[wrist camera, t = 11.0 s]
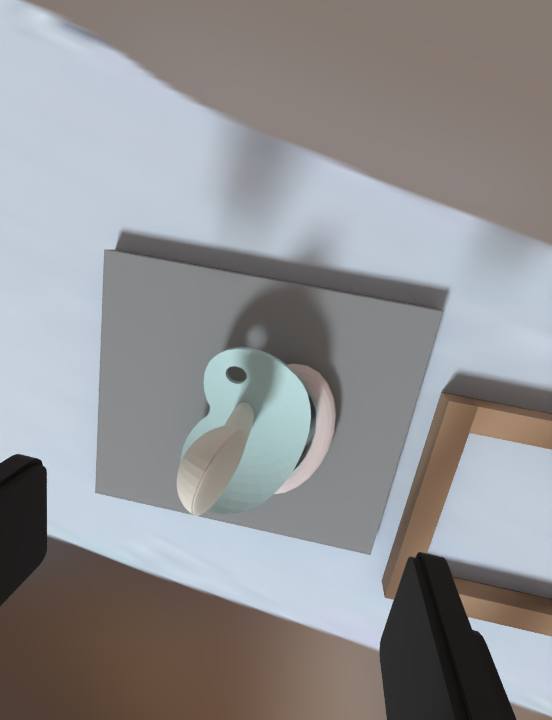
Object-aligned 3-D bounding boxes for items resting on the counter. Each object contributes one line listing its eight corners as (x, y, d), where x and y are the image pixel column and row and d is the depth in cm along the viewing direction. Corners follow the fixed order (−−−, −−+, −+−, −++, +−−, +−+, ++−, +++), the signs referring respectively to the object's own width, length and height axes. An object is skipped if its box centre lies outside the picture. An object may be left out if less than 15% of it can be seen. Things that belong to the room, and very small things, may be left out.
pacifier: (358, 369, 16) (224, 323, 16) (387, 440, 10) (174, 367, 10) (300, 505, 18) (182, 466, 18) (297, 631, 12) (120, 572, 12)
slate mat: (436, 308, 16) (442, 311, 15) (368, 542, 19) (370, 554, 18) (114, 249, 17) (104, 249, 16) (103, 483, 20) (95, 492, 19)
